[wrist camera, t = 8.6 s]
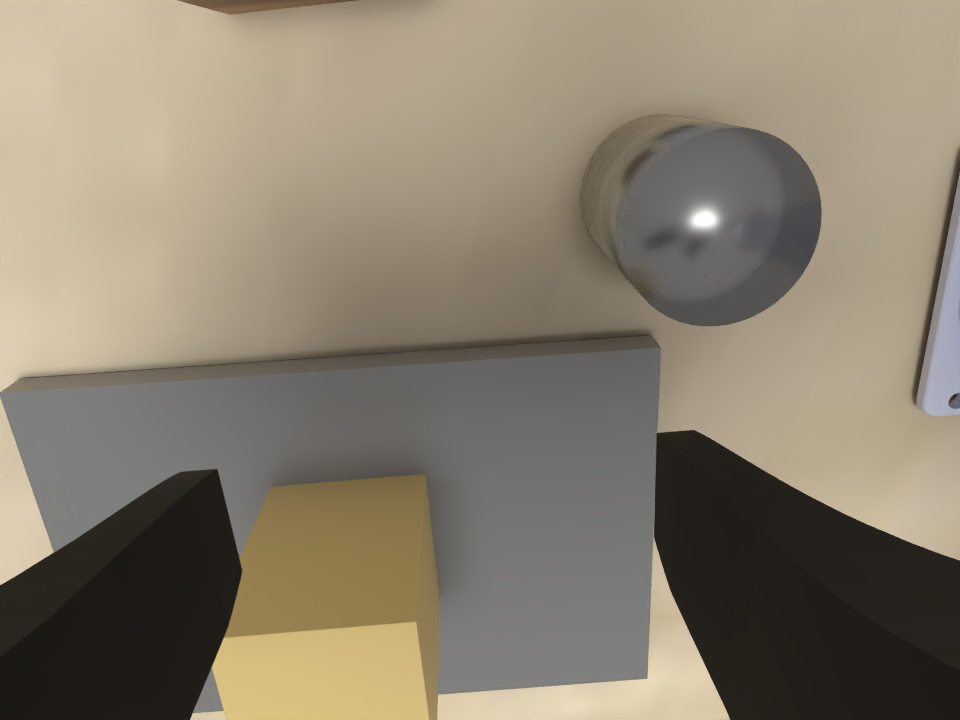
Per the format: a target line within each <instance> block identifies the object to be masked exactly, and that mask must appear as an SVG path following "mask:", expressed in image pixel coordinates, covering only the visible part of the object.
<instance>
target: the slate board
mask: <svg viewBox="0 0 960 720" xmlns="http://www.w3.org/2000/svg"><path fill="white" fill-rule="evenodd" d="M660 349H661V348H660V346H659V345H658V344H657V342H656V341H655V340H654V338H653V337H652V336H651V335H646V336H632V337H617V338H603V339H588V340H574V341H559V342H545V343H530V344H515V345H501V346H486V347H472V348H457V349H443V350H428V351H414V352H399V353H385V354H370V355H356V356H341V357H327V358H312V359H297V360H283V361H268V362H254V363H239V364H225V365H210V366H196V367H181V368H167V369H152V370H138V371H123V372H109V373H94V374H80V375H65V376H50V377H36V378H21V379H19V380H17V381H16V382H14V383H13V384H12V385H10V386H9V387H7V388H6V389H4V390H3V391H2V392H0V398H1V400H2V403H3V406H4V409H5V412H6V415H7V418H8V421H9V424H10V426H11V429H12V432H13V435H14V438H15V441H16V444H17V447H18V450H19V452H20V455H21V458H22V461H23V464H24V467H25V470H26V473H27V476H28V479H29V481H30V484H31V487H32V490H33V493H34V496H35V499H36V502H37V505H38V507H39V510H40V513H41V516H42V519H43V522H44V525H45V528H46V531H47V533H48V536H49V539H50V542H51V545H52V548H53V551H54V552H56V551H57V550H59V549H60V548H62V547H64V546H65V545H67V544H68V543H70V542H72V541H73V540H75V539H76V538H78V537H79V536H81V535H82V534H84V533H85V532H87V531H88V530H90V529H91V528H93V527H94V526H96V525H97V524H99V523H100V522H102V521H103V520H105V519H106V518H108V517H109V516H111V515H112V514H114V513H115V512H117V511H118V510H120V509H121V508H123V507H124V506H126V505H127V504H129V503H130V502H132V501H133V500H135V499H136V498H138V497H139V496H141V495H142V494H144V493H145V492H147V491H148V490H150V489H151V488H153V487H155V486H156V485H158V484H159V483H161V482H163V481H164V480H166V479H168V478H169V477H171V476H173V475H175V474H177V473H179V472H184V471H196V470H208V469H218V473H219V477H220V481H221V485H222V489H223V493H224V497H225V501H226V505H227V509H228V514H229V518H230V522H231V526H232V530H233V534H234V538H235V542H236V546H237V550H238V554H239V558H240V556H241V554H242V552H243V549H244V547H245V545H246V542H247V540H248V538H249V535H250V533H251V531H252V529H253V526H254V524H255V522H256V519H257V517H258V515H259V513H260V510H261V508H262V506H263V503H264V501H265V499H266V497H267V494H268V492H269V490H270V487H273V486H285V485H297V484H309V483H321V482H334V481H346V480H358V479H370V478H382V477H395V476H407V475H419V474H425V475H426V483H427V492H428V501H429V509H430V518H431V527H432V535H433V544H434V553H435V561H436V570H437V579H438V587H439V596H440V606H439V655H438V694H451V693H465V692H478V691H491V690H504V689H517V688H531V687H544V686H557V685H570V684H583V683H597V682H610V681H623V680H636V679H647V674H648V649H649V624H650V599H651V574H652V549H653V524H654V499H655V474H656V437H657V424H658V399H659V374H660ZM214 711H224V709H223V706H222V702H221V699H220V695H219V691H218V688H217V684H216V681H215V677H214V674H213V670H212V668H211V671H210V673H209V675H208V678H207V680H206V682H205V685H204V687H203V690H202V692H201V694H200V697H199V699H198V701H197V704H196V706H195V709H194V711H193V713H201V712H214Z"/></svg>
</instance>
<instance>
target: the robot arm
mask: <svg viewBox="0 0 960 720" xmlns="http://www.w3.org/2000/svg"><path fill="white" fill-rule="evenodd" d="M956 393H957V396H956V398H955V399H954V400H953V401H952V402H950V403H948V401H949V399H950V397H951V396H953V395H954V394H956ZM917 405H918V407H919V409H921V410H922V411H924V412H925V413H926V414H928V415H930V416H936V417H937V416H951V415H960V174H959V179H958V184H957V190H956V195H955V200H954V205H953V211H952V216H951V221H950V226H949V231H948V237H947V242H946V247H945V252H944V258H943V263H942V268H941V273H940V278H939V284H938V289H937V294H936V299H935V305H934V310H933V315H932V320H931V325H930V331H929V336H928V341H927V346H926V352H925V357H924V362H923V367H922V372H921V378H920V383H919V388H918V393H917ZM654 539H655V542H656V545H657V549H658V552H659V555H660V559H661V562H662V566H663V569H664V572H665V575H666V578H667V581H668V584H669V587H670V590H671V592H672V595H673V597H674V599H675V601H676V604H677V606H678V608H679V610H680V612H681V614H682V617H683V619H684V621H685V623H686V625H687V627H688V630H689V632H690V634H691V636H692V638H693V640H694V642H695V645H696V647H697V649H698V651H699V653H700V655H701V657H702V659H703V662H704V664H705V666H706V668H707V670H708V672H709V674H710V676H711V679H712V681H713V683H714V685H715V687H716V689H717V691H718V693H719V696H720V698H721V700H722V702H723V704H724V706H725V708H726V710H727V713H728V715H729V718H730V720H960V561H959V560H956V559H953V558H950V557H947V556H944V555H941V554H939V553H936V552H933V551H931V550H928V549H925V548H923V547H920V546H917V545H915V544H912V543H910V542H907V541H905V540H903V539H900V538H898V537H895V536H893V535H891V534H888V533H886V532H884V531H881V530H879V529H876V528H874V527H872V526H869V525H867V524H865V523H863V522H860V521H858V520H856V519H854V518H852V517H850V516H847V515H845V514H843V513H841V512H839V511H837V510H835V509H833V508H831V507H830V506H828V505H826V504H824V503H822V502H820V501H818V500H816V499H814V498H812V497H810V496H808V495H806V494H804V493H802V492H801V491H799V490H797V489H795V488H793V487H791V486H790V485H788V484H786V483H784V482H783V481H781V480H779V479H777V478H776V477H774V476H772V475H770V474H769V473H767V472H765V471H764V470H762V469H760V468H758V467H757V466H755V465H753V464H752V463H750V462H748V461H747V460H745V459H743V458H742V457H740V456H738V455H737V454H735V453H734V452H732V451H730V450H729V449H727V448H725V447H724V446H722V445H720V444H719V443H717V442H715V441H713V440H712V439H710V438H708V437H706V436H705V435H703V434H701V433H699V432H697V431H695V430H689V431H677V432H664V433H657V437H656V479H655V521H654ZM241 576H242V567H241V563H240V558H239V554H238V550H237V546H236V542H235V538H234V534H233V530H232V526H231V522H230V518H229V514H228V509H227V505H226V501H225V497H224V493H223V489H222V485H221V481H220V477H219V473H218V469H208V470H196V471H184V472H179V473H177V474H175V475H173V476H171V477H169V478H168V479H166V480H164V481H163V482H161V483H159V484H158V485H156V486H155V487H153V488H151V489H150V490H148V491H147V492H145V493H144V494H142V495H141V496H139V497H138V498H136V499H135V500H133V501H132V502H130V503H129V504H127V505H126V506H124V507H123V508H121V509H120V510H118V511H117V512H115V513H114V514H112V515H111V516H109V517H108V518H106V519H105V520H103V521H102V522H100V523H99V524H97V525H96V526H94V527H93V528H91V529H90V530H88V531H87V532H85V533H84V534H82V535H81V536H79V537H78V538H76V539H75V540H73V541H72V542H70V543H68V544H67V545H65V546H64V547H62V548H60V549H59V550H57V551H56V552H54V553H52V554H51V555H49V556H48V557H46V558H44V559H43V560H41V561H40V562H38V563H36V564H35V565H33V566H32V567H30V568H28V569H27V570H25V571H24V572H22V573H20V574H19V575H17V576H16V577H14V578H12V579H10V580H9V581H7V582H5V583H4V584H2V585H0V720H190V718H191V716H192V713H193V711H194V709H195V706H196V704H197V701H198V699H199V697H200V694H201V692H202V690H203V687H204V685H205V682H206V680H207V678H208V675H209V673H210V671H211V668H212V666H213V663H214V661H215V658H216V656H217V654H218V651H219V649H220V646H221V644H222V641H223V639H224V636H225V634H226V631H227V629H228V626H229V622H230V619H231V615H232V612H233V608H234V604H235V601H236V596H237V592H238V588H239V584H240V580H241Z"/></svg>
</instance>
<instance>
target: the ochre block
mask: <svg viewBox="0 0 960 720" xmlns="http://www.w3.org/2000/svg"><path fill="white" fill-rule="evenodd" d="M240 563H241V567H242V576H241V580H240V584H239V588H238V592H237V596H236V601H235V604H234V608H233V612H232V615H231V619H230V622H229V626H228V629H227V631H226V634H225V636H224V639H223V641H222V644H221V646H220V649H219V651H218V654H217V656H216V658H215V661H214V663H213V666H212V670H213V674H214V677H215V681H216V684H217V688H218V691H219V695H220V699H221V702H222V706H223V709H224V713H225V716H226V720H437V704H438V655H439V606H440V596H439V587H438V579H437V570H436V561H435V553H434V544H433V535H432V527H431V518H430V509H429V501H428V492H427V483H426V475H425V474H419V475H407V476H395V477H382V478H370V479H358V480H346V481H334V482H321V483H309V484H297V485H285V486H273V487H270V490H269V492H268V494H267V497H266V499H265V501H264V503H263V506H262V508H261V510H260V513H259V515H258V517H257V519H256V522H255V524H254V526H253V529H252V531H251V533H250V535H249V538H248V540H247V542H246V545H245V547H244V549H243V552H242V554H241V556H240Z"/></svg>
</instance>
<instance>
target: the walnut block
mask: <svg viewBox="0 0 960 720" xmlns="http://www.w3.org/2000/svg"><path fill="white" fill-rule="evenodd" d="M178 1H182V2H186V3H189V4H193V5H197V6H200V7H204V8H208V9H211V10H215V11H219V12H222V13H226V14H238V13H247V12H255V11H264V10H273V9H282V8H291V7H300V6H309V5H318V4H327V3H336V2H345V1H354V0H178Z"/></svg>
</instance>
